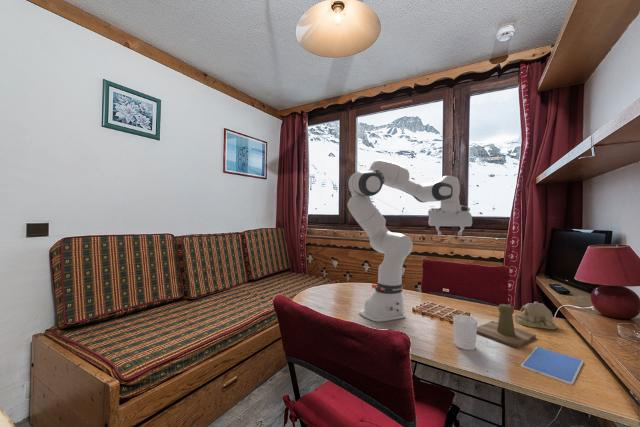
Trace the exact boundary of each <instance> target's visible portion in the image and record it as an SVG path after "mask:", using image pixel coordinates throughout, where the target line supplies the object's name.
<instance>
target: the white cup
mask: <svg viewBox="0 0 640 427" xmlns="http://www.w3.org/2000/svg"><path fill="white" fill-rule="evenodd" d="M452 319H453V335H454V345H455V346H456V347H458V348H459V349H462V350H464V351H465V350H466V351H474V350H475V349H476V342H477V335H478V334H477V327H478V322H479V320H478V319H477V318H475V317H473V316H470V315H467V314H466V315H465V314H455V315H453V316H452Z"/></svg>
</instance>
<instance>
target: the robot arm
mask: <svg viewBox="0 0 640 427" xmlns="http://www.w3.org/2000/svg"><path fill="white" fill-rule="evenodd" d="M384 185H385V186H387V187H389V188H392V189H395V190H399V191H402V192H404V193H406V194H409V195H411V196H412V197H413V198H414V199H415V200H416V201H417V202H419V203H430V202H431V203H432V202H440V206H439V207H435V208H434V207H431V208H430V209H429V210H428V211H427V212H428V213H427V216H428V221H427V222H428V226H430V227H435V229H436V231H437V236H442V231H441V230H440V227H459V228H460V230H459V231H457V236H463V231H464V230H465V227H472V225H473V217H472V214H471V213H472V212H470V211H471V207H468V206H466V205H463V204H460V203H461V202H460V197H459V196H460V191H461V188H460V185H461V184H460V181H459V178H458V177H456V176H453V175H444V176H443V175H442V176H441V178H440V179H438V180H436V181H433V182H428V183H415V182H413V181H411V180H410V172H409V169H407V168H406V167H404V166H403V165H400V164H398V163H396V162H393V161H389V160H384V159H376V160H374V161H373V162H372V164H371V165H370V167H369V170H366V171H365V170H361V171H360V170H359V171H354V172H352V173H351V174H349V175H348V177H347V179H346V188H347V190H348V195H349V196H350V198H349V199H348V202H347V205H346V206H347V209H348V211H349V213H350V214H351V215H352V217H353V219H355V221H356V222H357V224H358V225H359V226H360V227H361V229H362V230H364V232H365V233H366V235H367V236H368V239H369V244H370V247H371V248H372V249H373V250H374V251H376V252H378V253H381V254H384V255H383V261H382V262H381V263H380V264H379V265H378V268H377V270H378V273H377V275H378V276H377V277H378V279H377V283H376V284H375V283H372V284H371V288H372V289H374V291H373V292H372V293H371V295H369V297H368V298H367V299H366V300H365V303H364V308H363V309H360V310H359V314H360V316H362V317H364V318H365V319H368V320H370V321H373V322H379V323H382V322H386V321H387V322H388V321H393V320H401V319H406V314H405V313H406V312H405V306H404V305H405V304H404V299H403V294H402V293H403V288H404V287H403V283H402V280H403V279H402V277H403V276H402V274H403V266H404V263H405V260H406V258H407V257H408V256H409V255H410V254H411V252H413V247H414V245H413V244H414V243H413V240H412V238H411V237H409V236H408V235H405V234H404V233H400V232H393V231H390V230H389V229H388V228H387V226H386V223H387V220H386V218H385V217H384V216H383V215H382V213H381V212H380V211H379V209H378V208H377V207H376V206H375V205H374V203H373V202H372V200H371V197H372V196H375V195H377V194H379V193H380V191H381V190H382V188H383V186H384Z"/></svg>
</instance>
